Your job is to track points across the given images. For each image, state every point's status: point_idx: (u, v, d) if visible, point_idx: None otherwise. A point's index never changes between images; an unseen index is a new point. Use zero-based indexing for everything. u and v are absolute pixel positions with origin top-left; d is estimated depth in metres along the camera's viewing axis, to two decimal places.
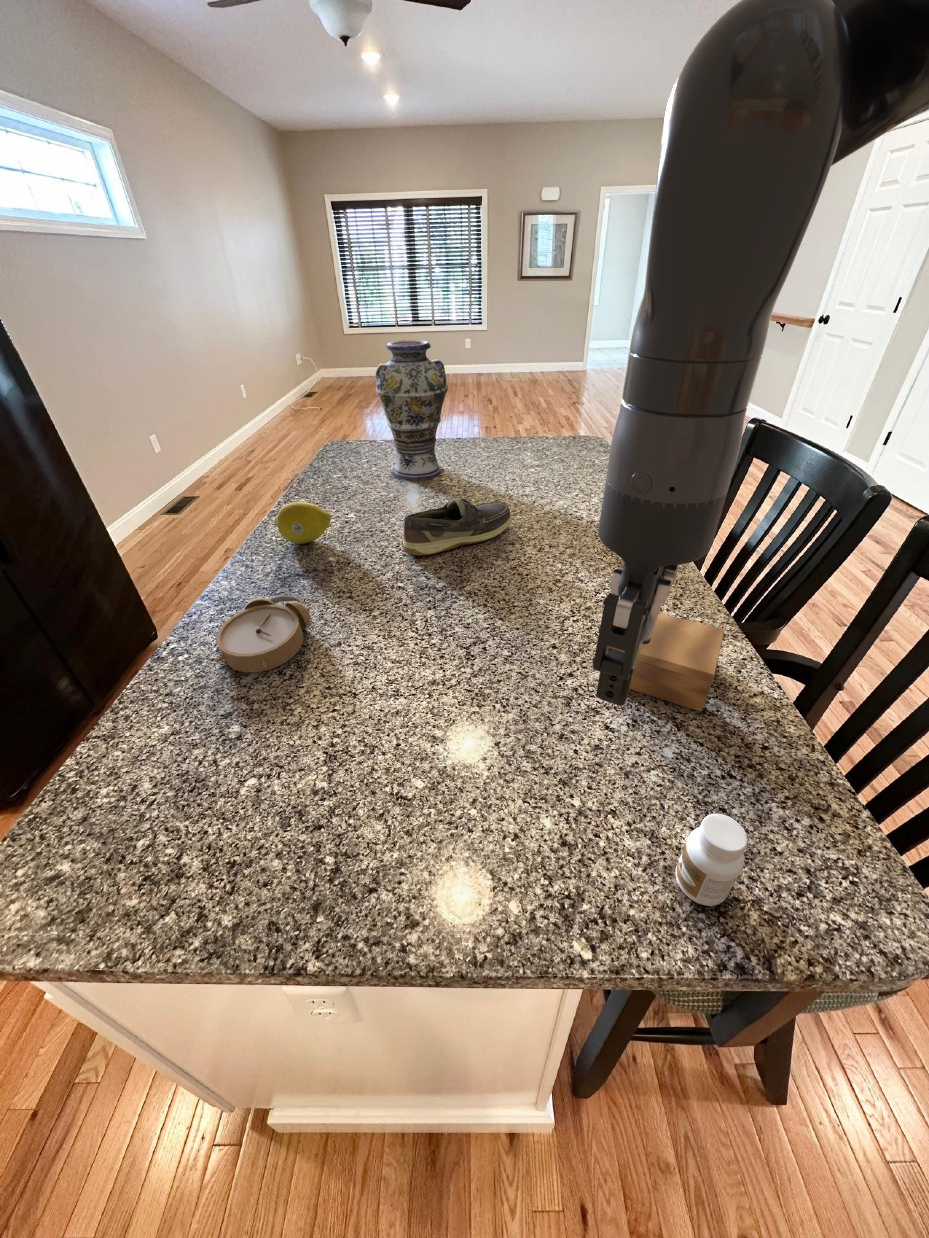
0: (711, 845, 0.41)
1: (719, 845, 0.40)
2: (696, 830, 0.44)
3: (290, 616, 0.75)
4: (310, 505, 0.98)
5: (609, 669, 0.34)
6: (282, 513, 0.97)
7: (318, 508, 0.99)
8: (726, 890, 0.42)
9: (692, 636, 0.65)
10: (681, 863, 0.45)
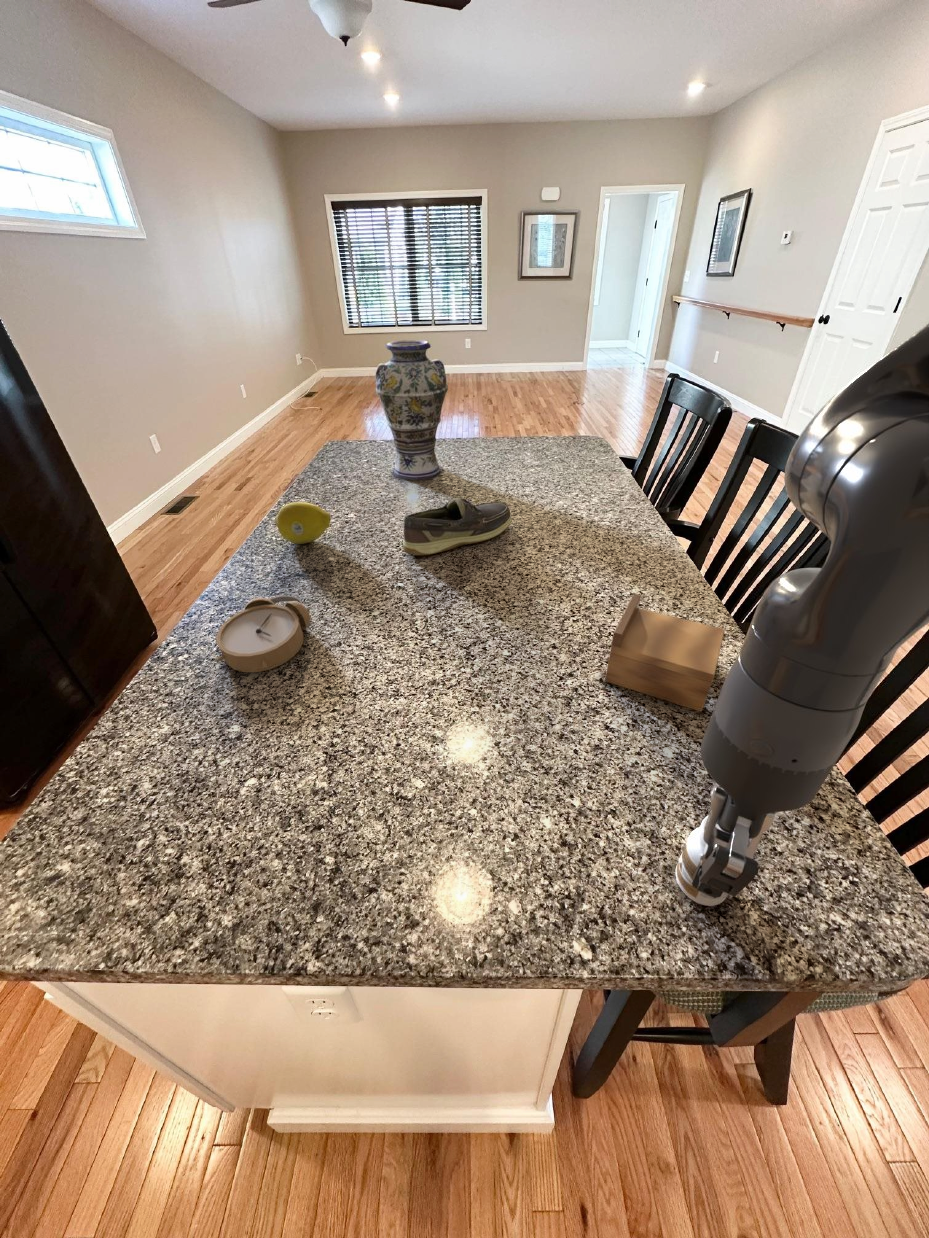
0: None
1: None
2: (696, 830, 0.44)
3: (290, 616, 0.75)
4: (310, 505, 0.98)
5: (716, 887, 0.37)
6: (282, 513, 0.97)
7: (318, 508, 0.99)
8: None
9: (692, 636, 0.65)
10: (681, 863, 0.45)
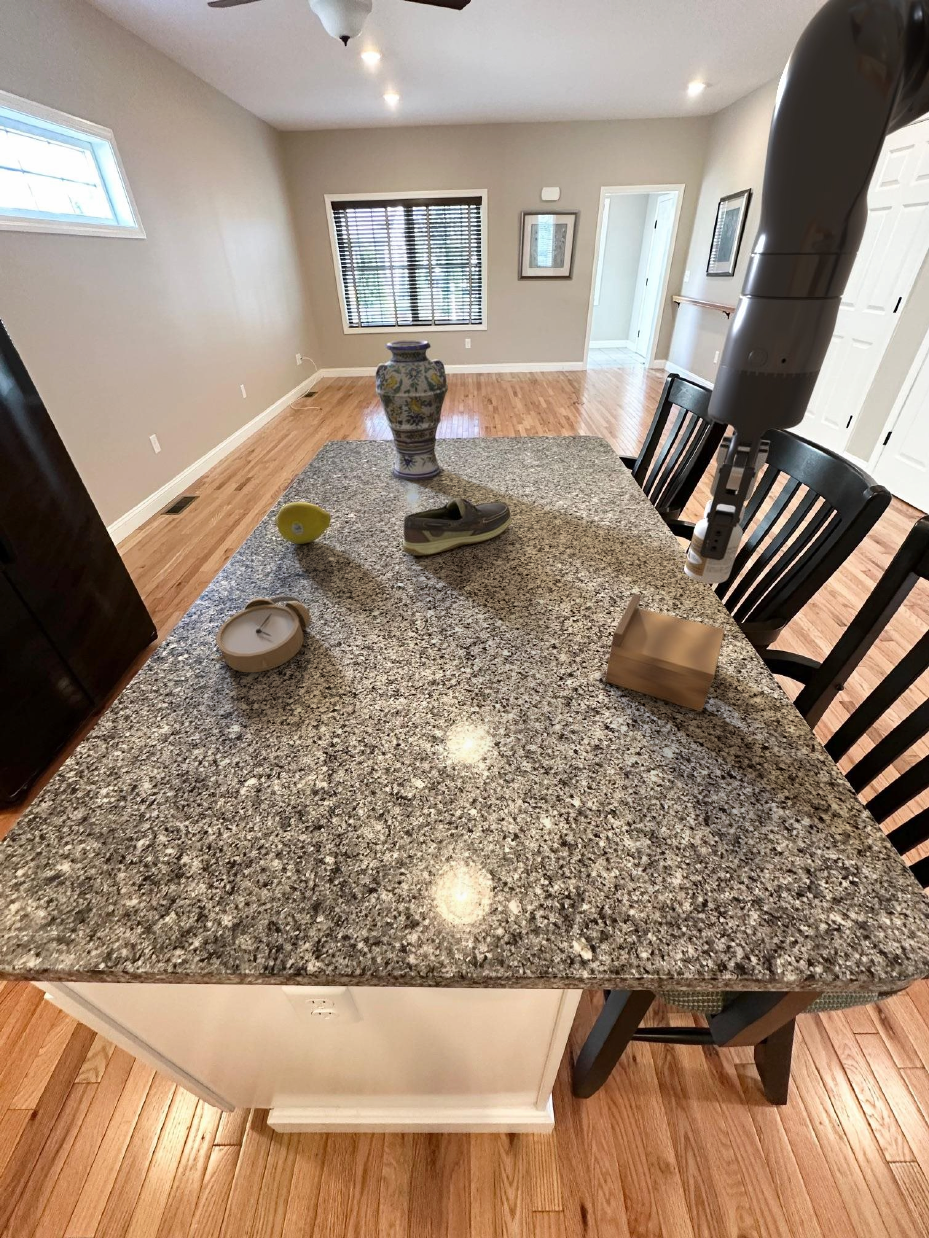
0: None
1: (722, 509, 0.49)
2: None
3: (290, 616, 0.75)
4: (310, 505, 0.98)
5: (721, 521, 0.45)
6: (282, 513, 0.97)
7: (318, 508, 0.99)
8: (727, 562, 0.51)
9: (692, 636, 0.65)
10: (689, 552, 0.53)
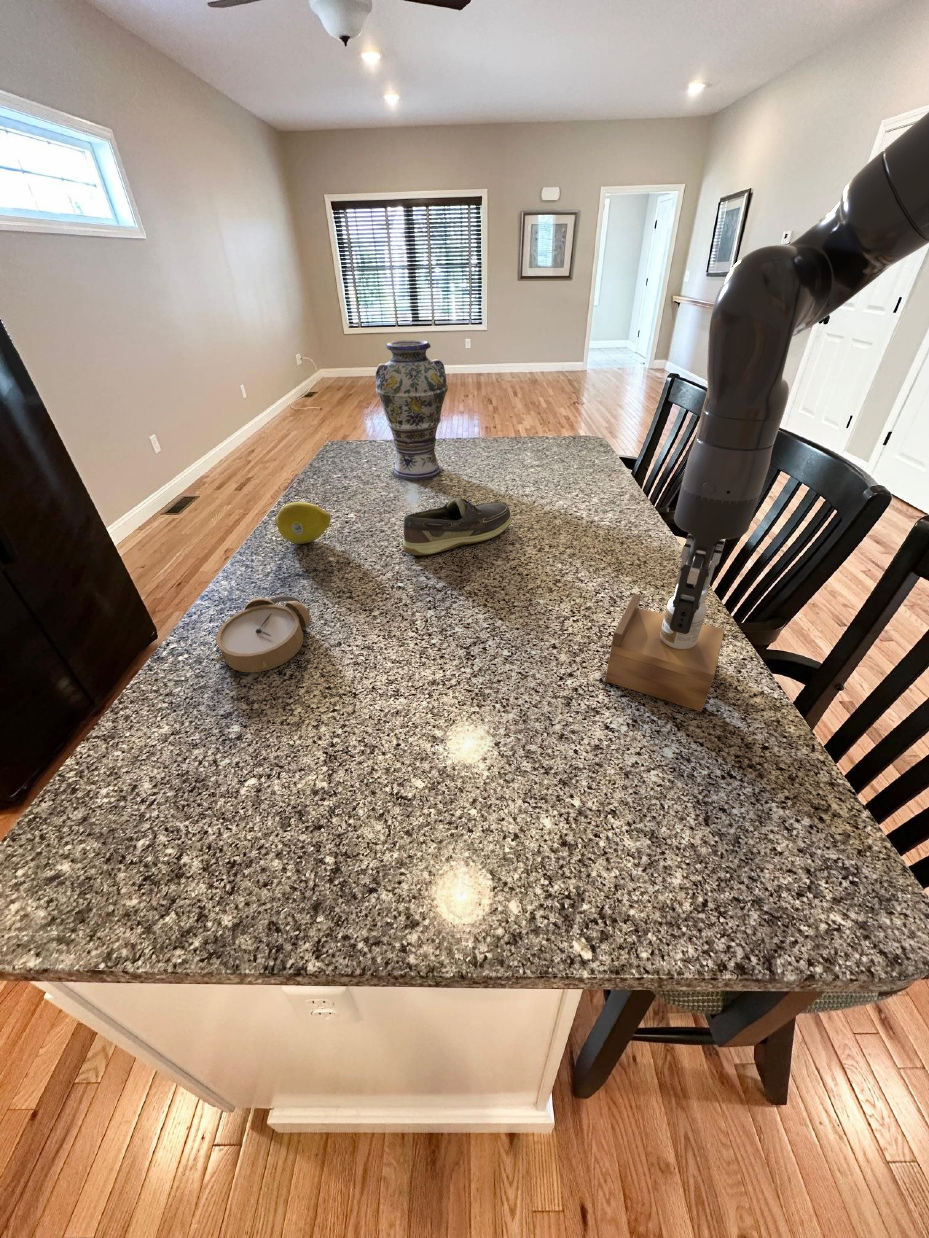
0: None
1: None
2: (674, 596, 0.63)
3: (290, 616, 0.75)
4: (310, 505, 0.98)
5: (683, 607, 0.56)
6: (282, 513, 0.97)
7: (318, 508, 0.99)
8: (694, 633, 0.61)
9: None
10: (663, 622, 0.63)
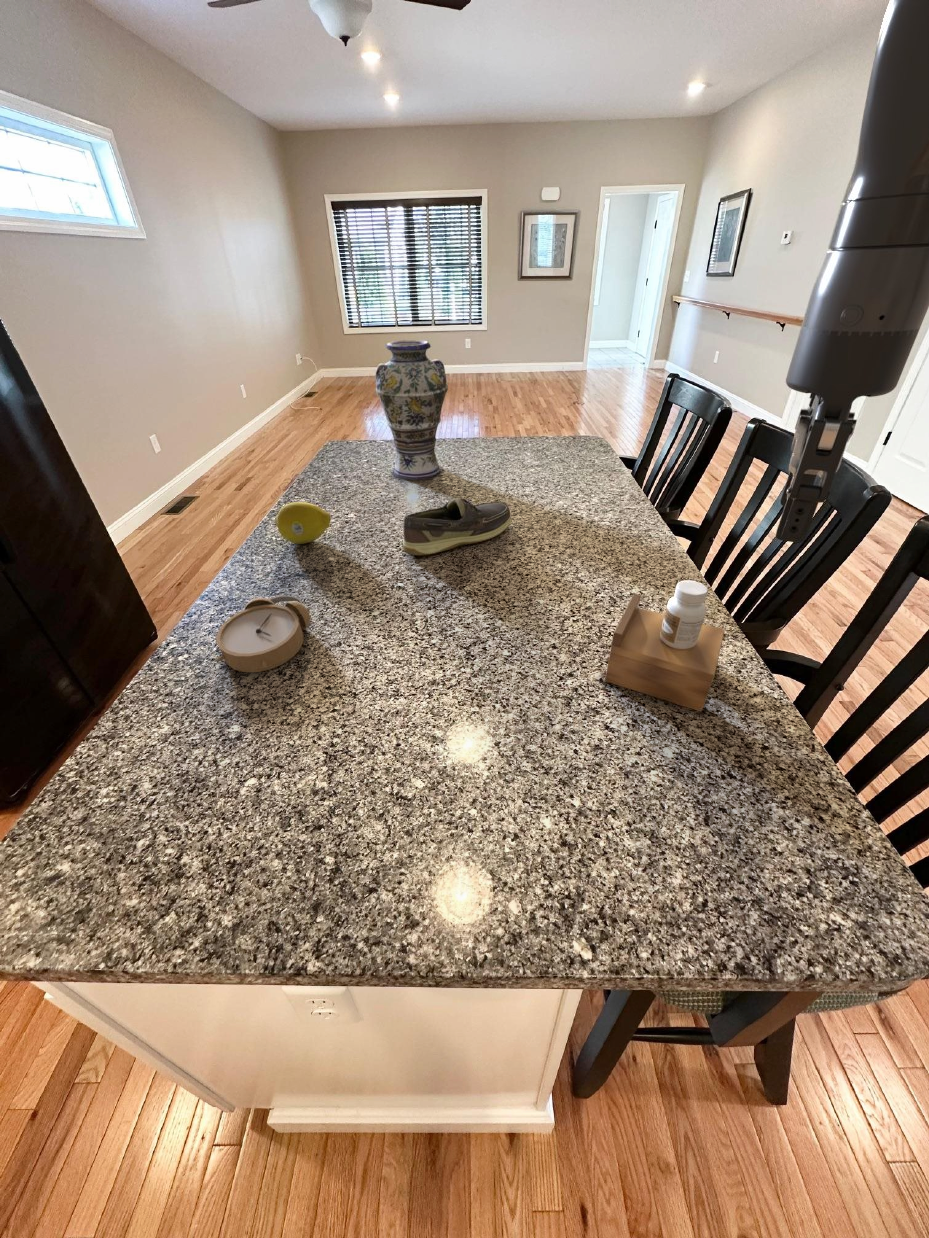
0: (683, 593, 0.59)
1: (688, 592, 0.59)
2: (674, 596, 0.63)
3: (290, 616, 0.75)
4: (310, 505, 0.98)
5: (807, 493, 0.40)
6: (282, 514, 0.97)
7: (318, 508, 0.99)
8: (694, 633, 0.61)
9: None
10: (663, 622, 0.63)
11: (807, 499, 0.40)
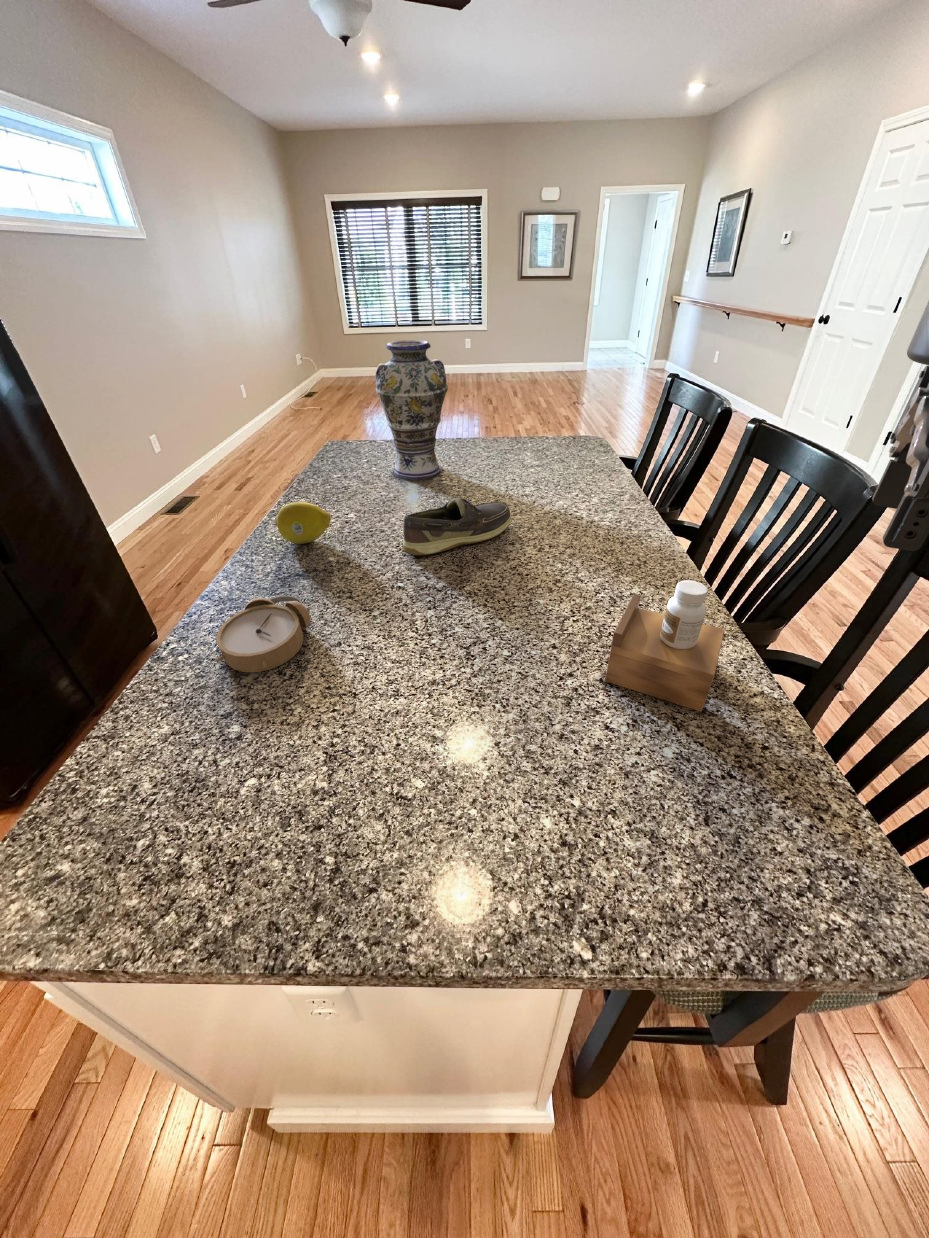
0: (683, 593, 0.59)
1: (688, 592, 0.59)
2: (674, 596, 0.63)
3: (290, 616, 0.75)
4: (310, 505, 0.98)
5: None
6: (282, 513, 0.97)
7: (318, 508, 0.99)
8: (694, 633, 0.61)
9: None
10: (663, 622, 0.63)
11: None
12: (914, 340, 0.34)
